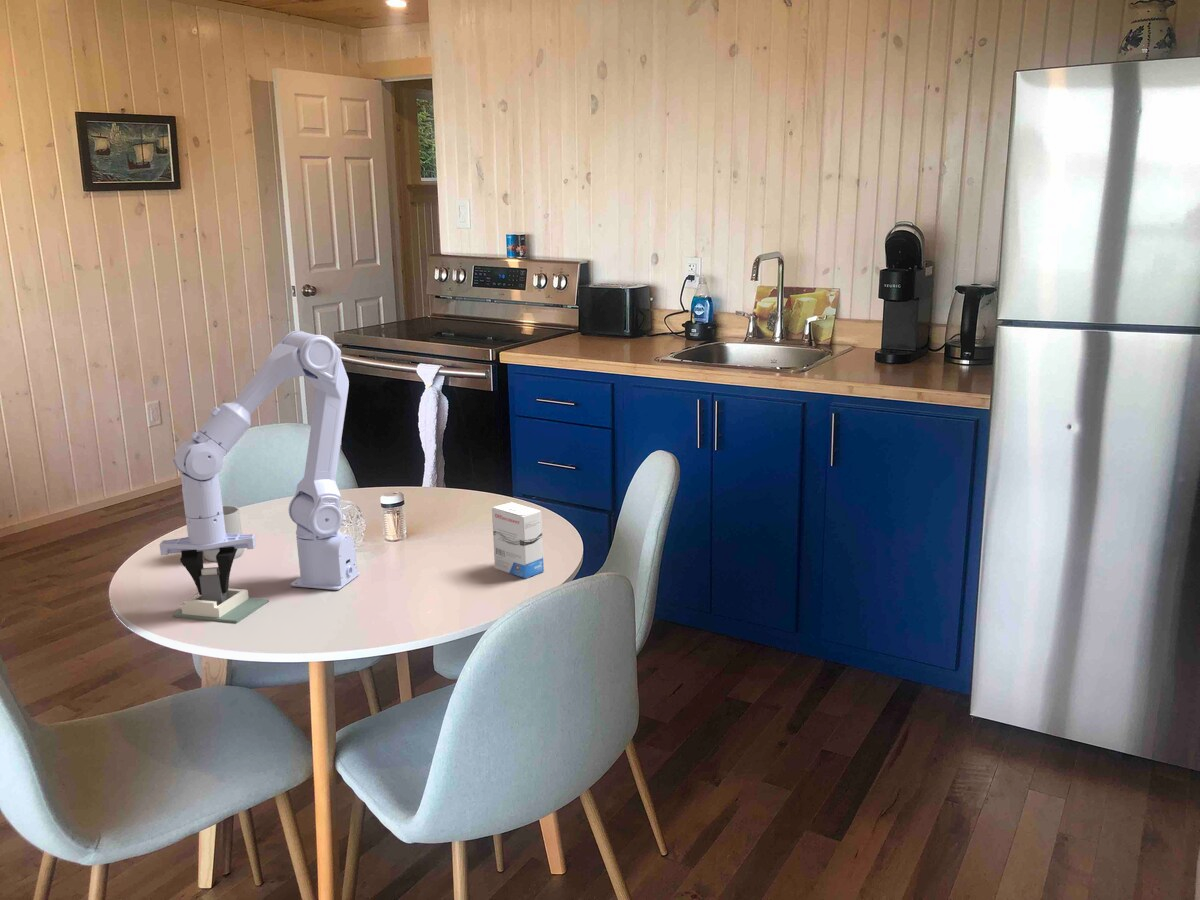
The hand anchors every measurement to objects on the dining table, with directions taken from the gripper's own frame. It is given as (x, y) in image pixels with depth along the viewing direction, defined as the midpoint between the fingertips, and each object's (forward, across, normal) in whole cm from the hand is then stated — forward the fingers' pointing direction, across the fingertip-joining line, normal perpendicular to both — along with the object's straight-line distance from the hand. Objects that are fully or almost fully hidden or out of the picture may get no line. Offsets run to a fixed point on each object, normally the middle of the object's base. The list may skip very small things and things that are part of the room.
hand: (214, 591), depth 161 cm
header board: (+3, -1, 0) cm, 3 cm away
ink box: (+3, -51, -7) cm, 52 cm away
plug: (+2, 0, 0) cm, 3 cm away
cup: (+3, +5, -28) cm, 28 cm away
